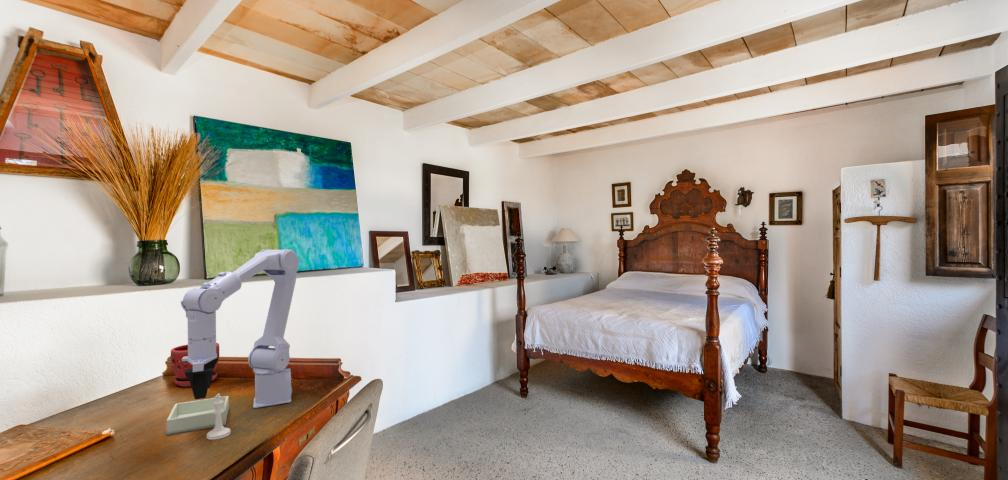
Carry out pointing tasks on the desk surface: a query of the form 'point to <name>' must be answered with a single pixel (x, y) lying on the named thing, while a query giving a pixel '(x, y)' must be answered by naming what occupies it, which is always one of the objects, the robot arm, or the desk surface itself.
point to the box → (195, 415)
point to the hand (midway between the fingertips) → (202, 393)
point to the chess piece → (218, 422)
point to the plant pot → (185, 364)
